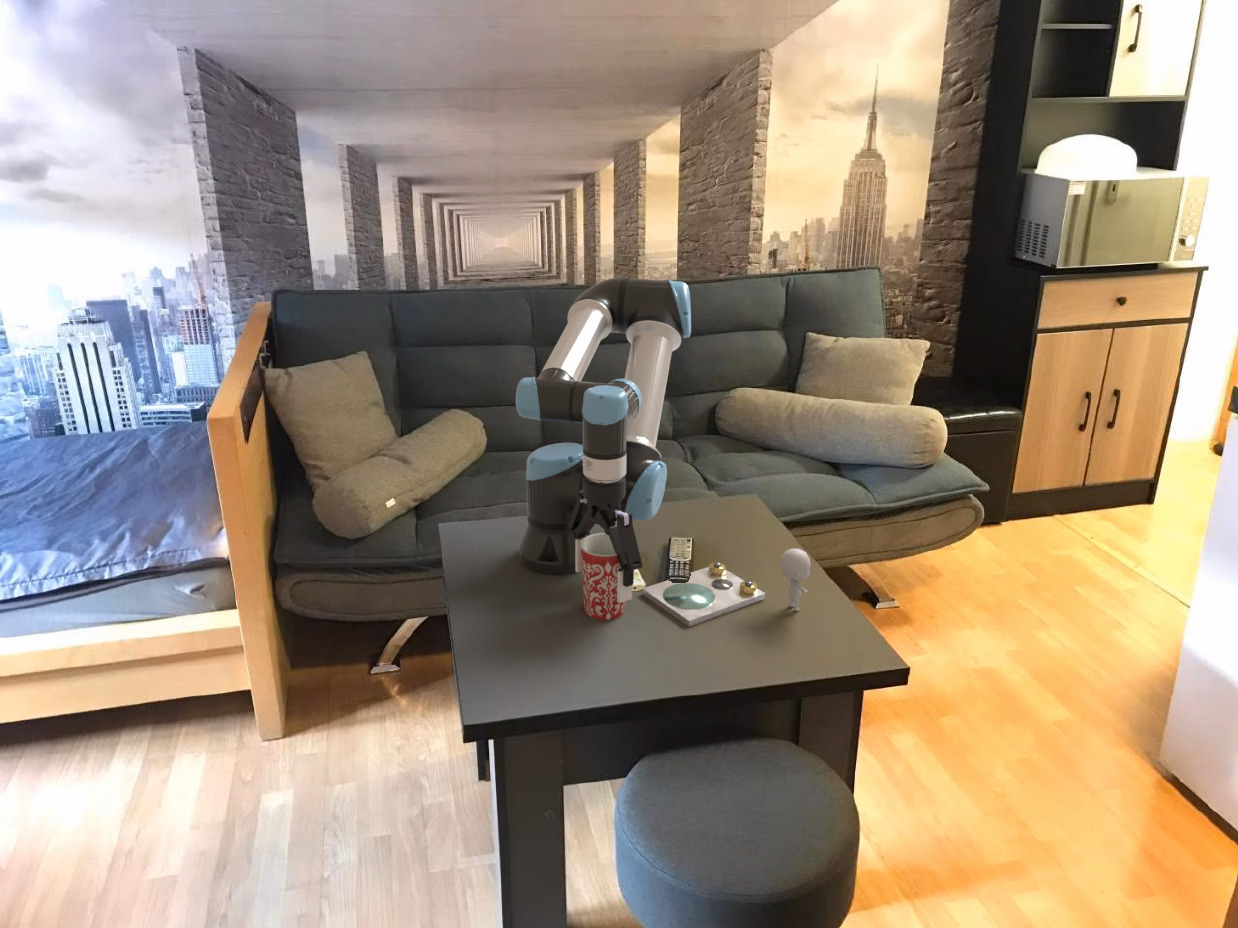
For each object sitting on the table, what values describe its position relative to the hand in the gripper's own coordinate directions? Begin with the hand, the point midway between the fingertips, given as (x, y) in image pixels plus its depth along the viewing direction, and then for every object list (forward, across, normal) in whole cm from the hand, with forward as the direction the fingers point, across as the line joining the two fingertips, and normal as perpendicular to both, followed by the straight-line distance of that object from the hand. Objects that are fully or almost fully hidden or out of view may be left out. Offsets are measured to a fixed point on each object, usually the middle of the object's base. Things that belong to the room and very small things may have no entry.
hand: (603, 584), depth 175 cm
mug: (+5, 0, 0) cm, 5 cm away
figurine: (+4, +20, +28) cm, 35 cm away
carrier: (+4, +7, +18) cm, 20 cm away
